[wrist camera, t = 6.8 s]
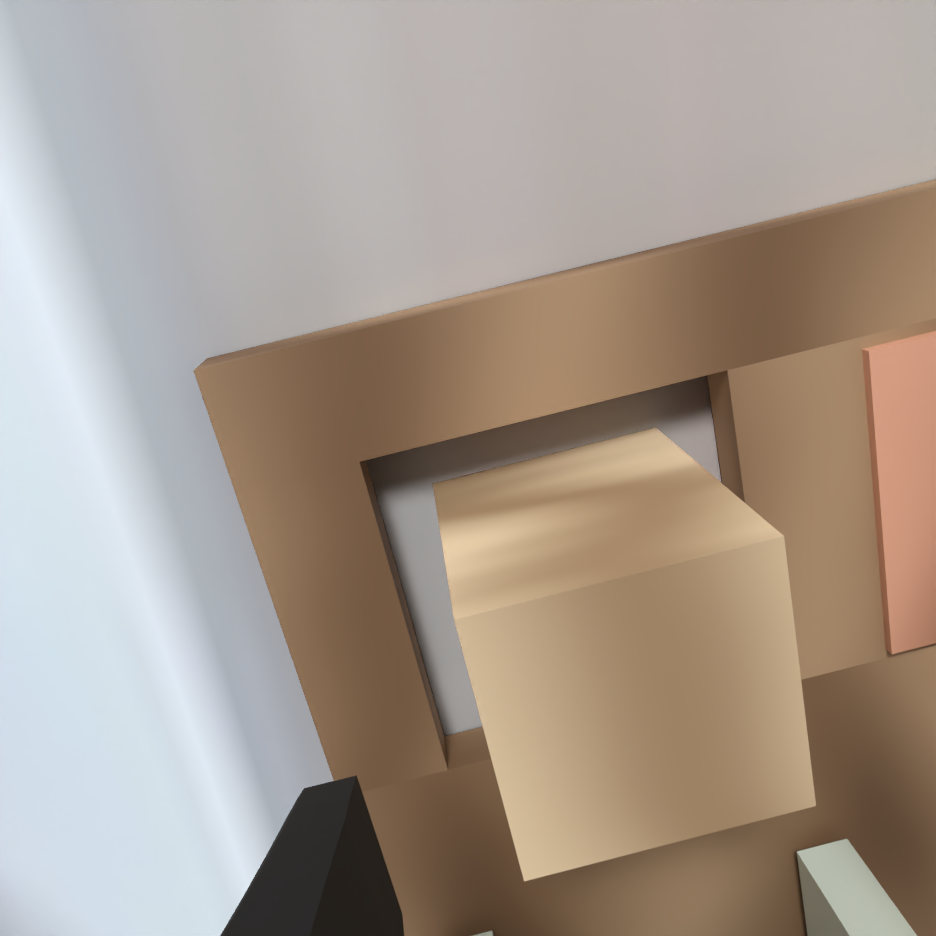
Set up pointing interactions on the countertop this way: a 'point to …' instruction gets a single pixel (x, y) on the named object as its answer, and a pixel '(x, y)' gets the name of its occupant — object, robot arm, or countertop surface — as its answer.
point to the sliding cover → (842, 895)
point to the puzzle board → (742, 471)
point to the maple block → (625, 649)
